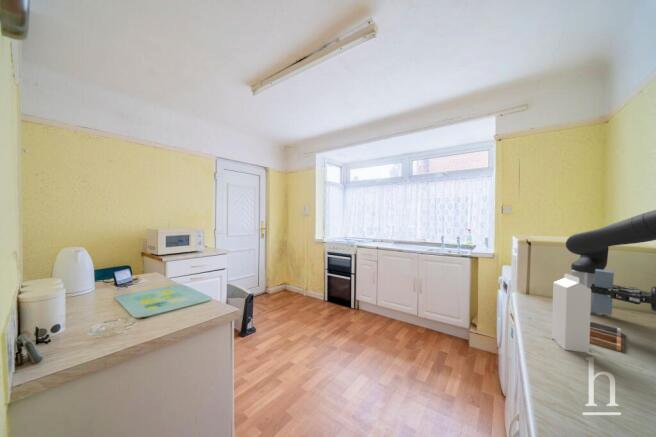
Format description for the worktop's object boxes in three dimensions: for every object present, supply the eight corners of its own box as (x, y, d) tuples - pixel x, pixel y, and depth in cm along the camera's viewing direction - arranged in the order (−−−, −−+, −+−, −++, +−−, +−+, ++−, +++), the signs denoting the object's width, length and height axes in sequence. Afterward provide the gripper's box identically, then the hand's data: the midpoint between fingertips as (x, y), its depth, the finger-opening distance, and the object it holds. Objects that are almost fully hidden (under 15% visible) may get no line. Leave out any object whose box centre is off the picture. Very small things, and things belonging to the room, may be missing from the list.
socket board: (584, 325, 87) (584, 319, 86) (623, 336, 80) (624, 328, 79) (578, 343, 75) (579, 335, 75) (624, 356, 68) (624, 348, 68)
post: (594, 308, 83) (595, 269, 83) (611, 312, 80) (613, 271, 80) (593, 311, 81) (595, 270, 80) (611, 315, 78) (613, 273, 77)
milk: (564, 350, 71) (566, 277, 70) (551, 339, 77) (552, 272, 76) (590, 353, 69) (592, 278, 69) (574, 342, 75) (575, 273, 75)
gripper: (675, 285, 73) (592, 273, 87) (683, 295, 64) (589, 280, 78) (674, 309, 74) (592, 294, 87) (681, 322, 65) (588, 303, 78)
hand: (591, 287), depth 82 cm, fingers closed on post, 4 cm apart
